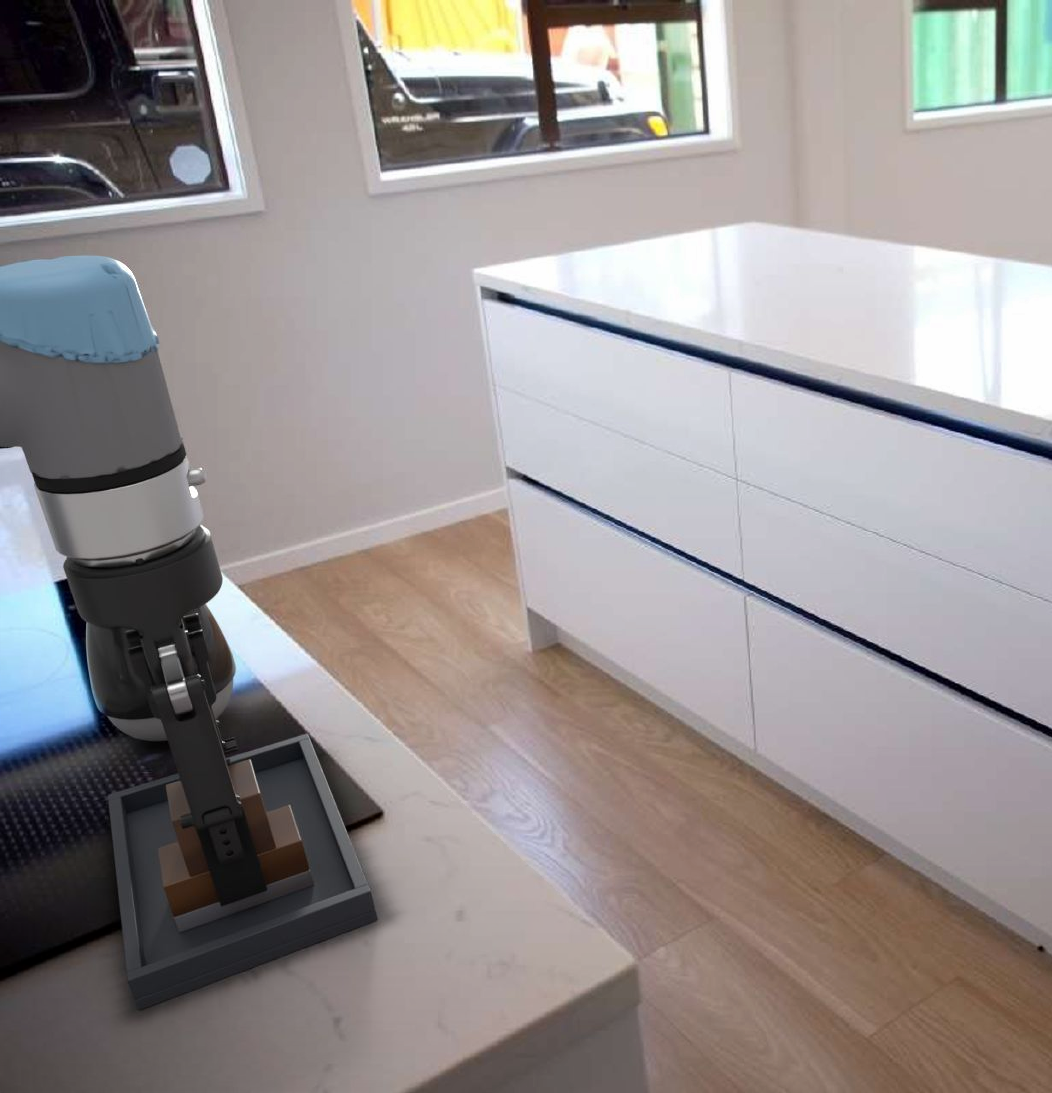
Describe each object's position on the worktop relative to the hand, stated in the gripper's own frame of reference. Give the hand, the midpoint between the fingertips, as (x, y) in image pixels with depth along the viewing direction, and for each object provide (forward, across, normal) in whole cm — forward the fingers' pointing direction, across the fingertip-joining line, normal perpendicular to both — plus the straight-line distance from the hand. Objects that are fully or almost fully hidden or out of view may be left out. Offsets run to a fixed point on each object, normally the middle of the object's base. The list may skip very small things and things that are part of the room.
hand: (238, 871), depth 79 cm
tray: (+2, +4, 0) cm, 4 cm away
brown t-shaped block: (+1, 0, 0) cm, 1 cm away
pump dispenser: (+2, +27, +2) cm, 27 cm away
